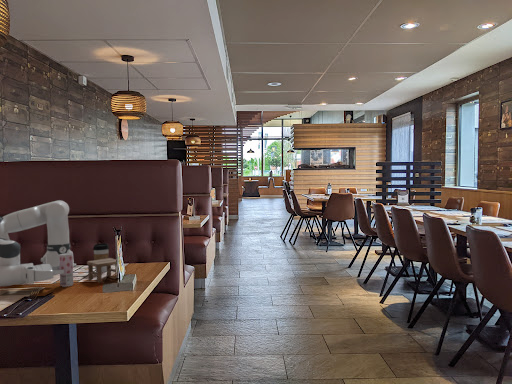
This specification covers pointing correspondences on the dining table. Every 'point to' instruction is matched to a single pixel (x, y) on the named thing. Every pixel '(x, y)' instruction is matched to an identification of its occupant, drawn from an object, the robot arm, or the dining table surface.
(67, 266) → the beverage can
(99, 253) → the coffee cup
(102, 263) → the stool
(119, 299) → the dining table surface
